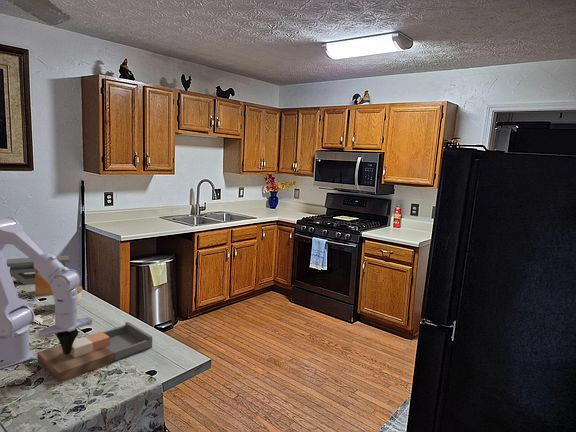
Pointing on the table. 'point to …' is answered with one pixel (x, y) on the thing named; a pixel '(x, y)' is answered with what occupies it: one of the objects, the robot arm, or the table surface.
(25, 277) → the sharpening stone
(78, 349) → the cream tile
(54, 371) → the brown wooden board
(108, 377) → the table surface
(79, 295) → the lidded jar
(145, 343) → the tray
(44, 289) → the small box
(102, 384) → the table surface
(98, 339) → the terracotta tile
